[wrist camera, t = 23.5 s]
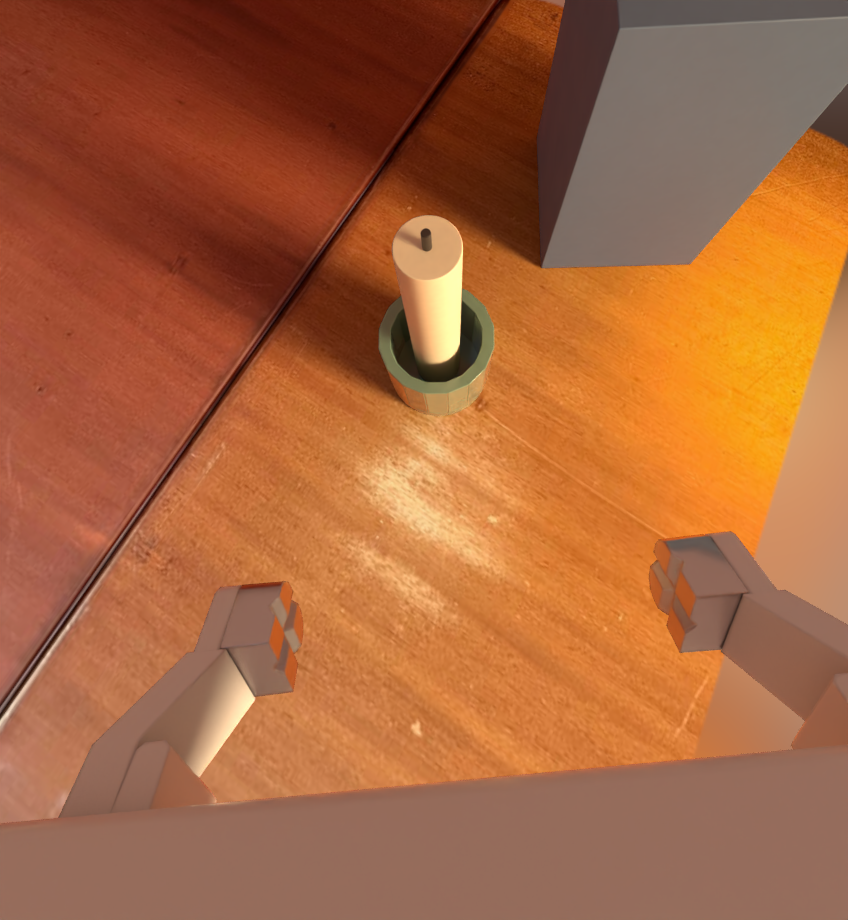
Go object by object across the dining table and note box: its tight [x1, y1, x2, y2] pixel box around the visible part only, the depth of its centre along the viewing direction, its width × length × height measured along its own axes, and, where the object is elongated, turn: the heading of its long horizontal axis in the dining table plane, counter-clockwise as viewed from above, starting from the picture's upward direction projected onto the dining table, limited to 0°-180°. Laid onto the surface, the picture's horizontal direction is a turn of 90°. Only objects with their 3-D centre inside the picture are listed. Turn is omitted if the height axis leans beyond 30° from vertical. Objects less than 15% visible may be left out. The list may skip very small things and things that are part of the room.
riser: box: [537, 0, 848, 268], centre depth 27 cm, size 10×10×17 cm
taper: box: [392, 215, 463, 382], centre depth 27 cm, size 3×3×15 cm
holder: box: [379, 289, 494, 416], centre depth 32 cm, size 7×7×6 cm
